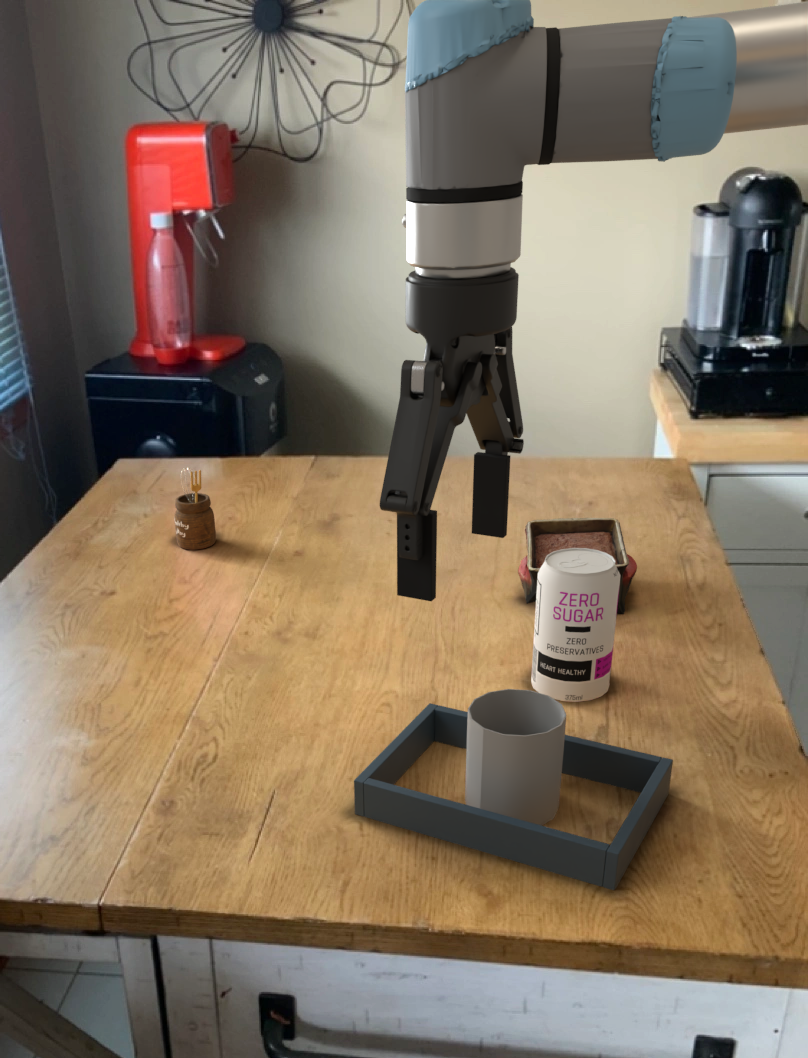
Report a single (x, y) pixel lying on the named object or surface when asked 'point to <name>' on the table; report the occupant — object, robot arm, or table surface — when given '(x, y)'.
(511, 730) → the cup
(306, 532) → the table surface
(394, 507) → the robot arm
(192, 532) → the utensil holder
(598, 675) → the supplement can
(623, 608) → the baking dish
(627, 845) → the dark grey open frame
